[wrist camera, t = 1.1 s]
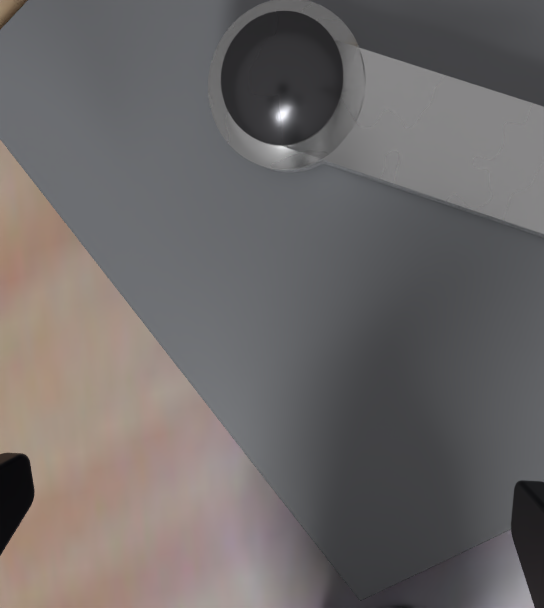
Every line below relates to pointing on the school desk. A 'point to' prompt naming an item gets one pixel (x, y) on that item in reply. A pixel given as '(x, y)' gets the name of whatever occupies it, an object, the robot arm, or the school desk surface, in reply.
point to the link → (409, 131)
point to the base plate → (304, 268)
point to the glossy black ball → (282, 78)
